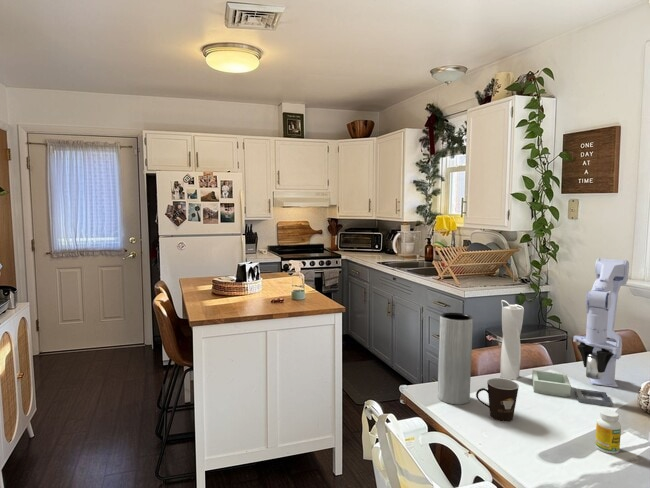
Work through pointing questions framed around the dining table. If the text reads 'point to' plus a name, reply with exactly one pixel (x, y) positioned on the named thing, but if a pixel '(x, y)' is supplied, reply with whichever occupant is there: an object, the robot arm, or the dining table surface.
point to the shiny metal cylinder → (592, 366)
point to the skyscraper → (511, 341)
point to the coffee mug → (501, 398)
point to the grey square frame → (603, 402)
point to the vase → (455, 358)
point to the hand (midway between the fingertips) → (594, 369)
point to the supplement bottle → (608, 432)
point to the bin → (551, 383)
